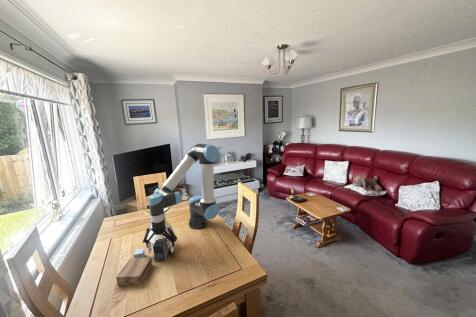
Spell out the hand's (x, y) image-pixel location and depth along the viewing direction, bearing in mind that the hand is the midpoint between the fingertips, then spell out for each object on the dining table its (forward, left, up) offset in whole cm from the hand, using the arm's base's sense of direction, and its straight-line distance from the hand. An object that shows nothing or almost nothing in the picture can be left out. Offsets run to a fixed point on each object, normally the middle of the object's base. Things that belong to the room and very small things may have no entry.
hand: (161, 251), depth 122 cm
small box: (0, 0, -3) cm, 3 cm away
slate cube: (+13, +2, -3) cm, 13 cm away
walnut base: (+9, +15, -3) cm, 17 cm away
